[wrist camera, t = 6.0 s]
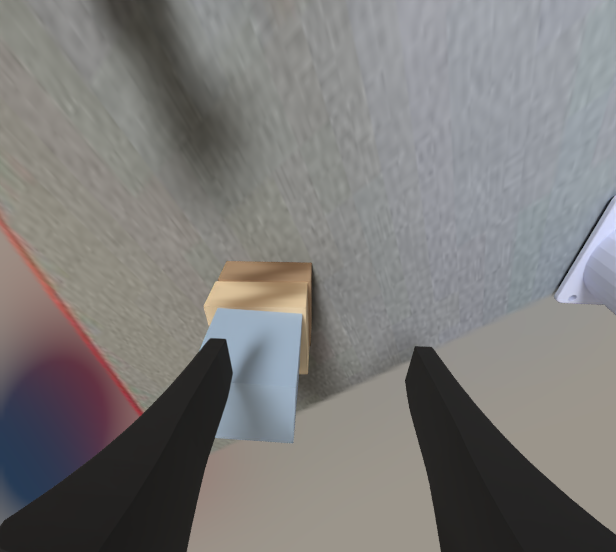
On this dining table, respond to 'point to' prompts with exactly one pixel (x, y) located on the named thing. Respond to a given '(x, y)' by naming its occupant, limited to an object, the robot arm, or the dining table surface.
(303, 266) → the lower slab
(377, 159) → the dining table surface
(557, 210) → the dining table surface
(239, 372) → the cube
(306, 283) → the upper slab
